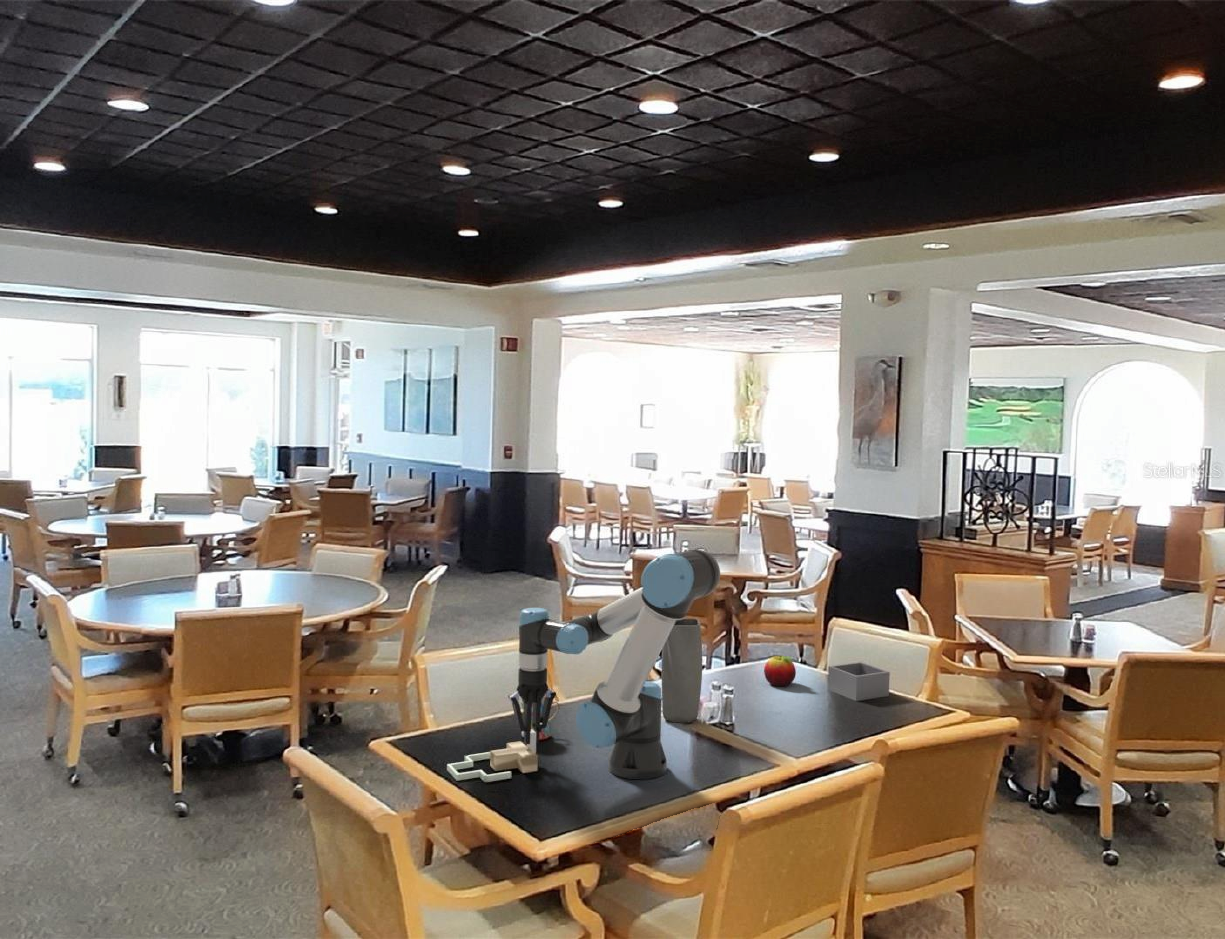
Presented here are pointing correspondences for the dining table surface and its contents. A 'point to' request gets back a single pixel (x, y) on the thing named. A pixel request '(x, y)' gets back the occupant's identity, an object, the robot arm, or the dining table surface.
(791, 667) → the fruit
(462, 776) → the jig
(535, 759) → the t block
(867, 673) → the box
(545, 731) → the mug
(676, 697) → the vase
